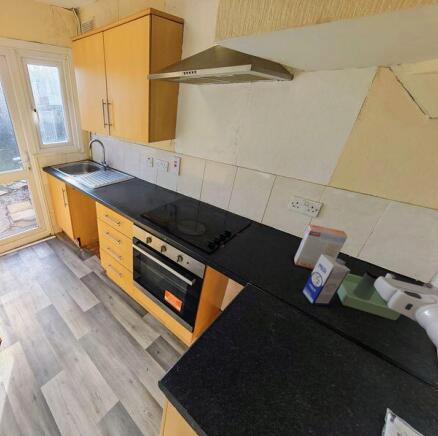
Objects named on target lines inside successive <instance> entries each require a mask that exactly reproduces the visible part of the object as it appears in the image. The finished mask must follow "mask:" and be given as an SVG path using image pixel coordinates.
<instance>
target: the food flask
mask: <svg viewBox="0 0 438 436" xmlns="http://www.w3.org/2000/svg"><path fill="white" fill-rule="evenodd" d="M380 276H382V277H385V276H386V275H385V274H384V273H383V272H382V271H380V270H377V269H374V268H367V269H366V271H365V273H364V274H363V276H362V277H363V278H362V279H361V281H360V282H359V284H358V285H357V287H356V288H355V290H354V291H353V293H354V294H355V295H356V296H357V297H359V298H361V299H363V300H369V299H370V297H371V296H372V295H373V293H374V292H375V290H376V288H375V286H374V283H375V281H376V280H377V278H379V277H380Z"/></svg>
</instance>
